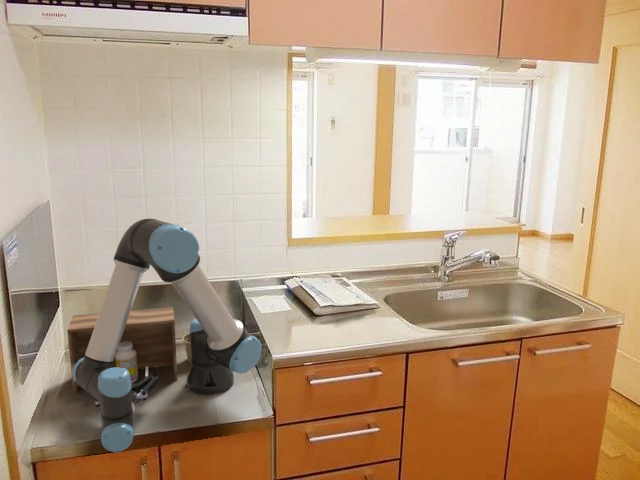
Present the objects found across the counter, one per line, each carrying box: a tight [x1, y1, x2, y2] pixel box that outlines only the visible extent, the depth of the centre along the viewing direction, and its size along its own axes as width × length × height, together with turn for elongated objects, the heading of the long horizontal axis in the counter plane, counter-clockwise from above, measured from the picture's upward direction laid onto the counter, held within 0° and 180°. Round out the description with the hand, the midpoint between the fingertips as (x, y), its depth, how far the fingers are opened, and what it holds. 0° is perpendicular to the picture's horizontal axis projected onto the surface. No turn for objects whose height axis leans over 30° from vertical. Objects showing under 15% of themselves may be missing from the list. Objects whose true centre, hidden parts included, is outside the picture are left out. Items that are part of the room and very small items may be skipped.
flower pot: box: [181, 332, 191, 363], centre depth 186 cm, size 9×9×9 cm
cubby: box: [67, 306, 178, 394], centre depth 171 cm, size 12×32×21 cm, turn 108°
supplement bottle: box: [115, 341, 139, 384], centre depth 170 cm, size 7×7×13 cm
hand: (124, 372), depth 161 cm, fingers open, 13 cm apart
